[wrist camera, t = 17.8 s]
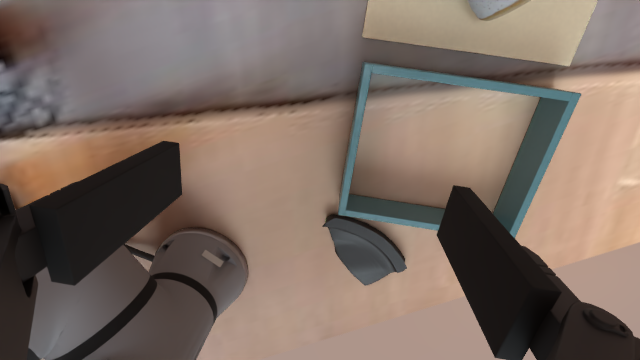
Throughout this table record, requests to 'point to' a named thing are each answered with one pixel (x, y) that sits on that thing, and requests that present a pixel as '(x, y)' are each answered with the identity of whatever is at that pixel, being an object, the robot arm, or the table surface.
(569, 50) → the mat
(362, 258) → the dark sector wedge
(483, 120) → the table surface
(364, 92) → the teal rectangular frame
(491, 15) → the ceramic mug
